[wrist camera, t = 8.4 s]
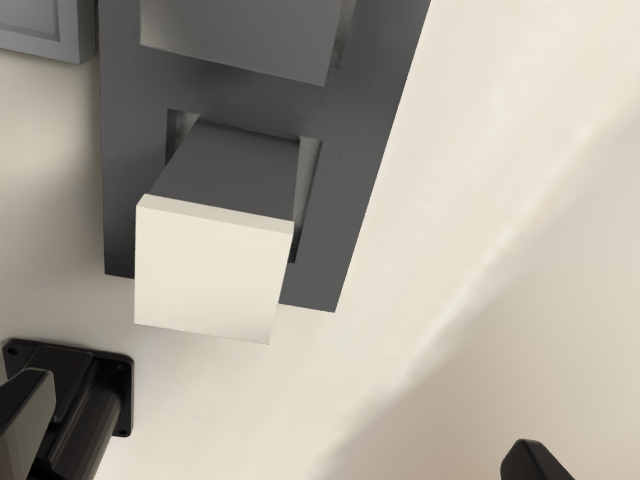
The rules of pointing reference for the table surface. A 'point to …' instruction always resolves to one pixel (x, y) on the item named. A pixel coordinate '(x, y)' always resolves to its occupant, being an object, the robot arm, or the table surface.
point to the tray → (49, 28)
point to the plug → (247, 33)
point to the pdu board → (259, 130)
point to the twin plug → (217, 234)
